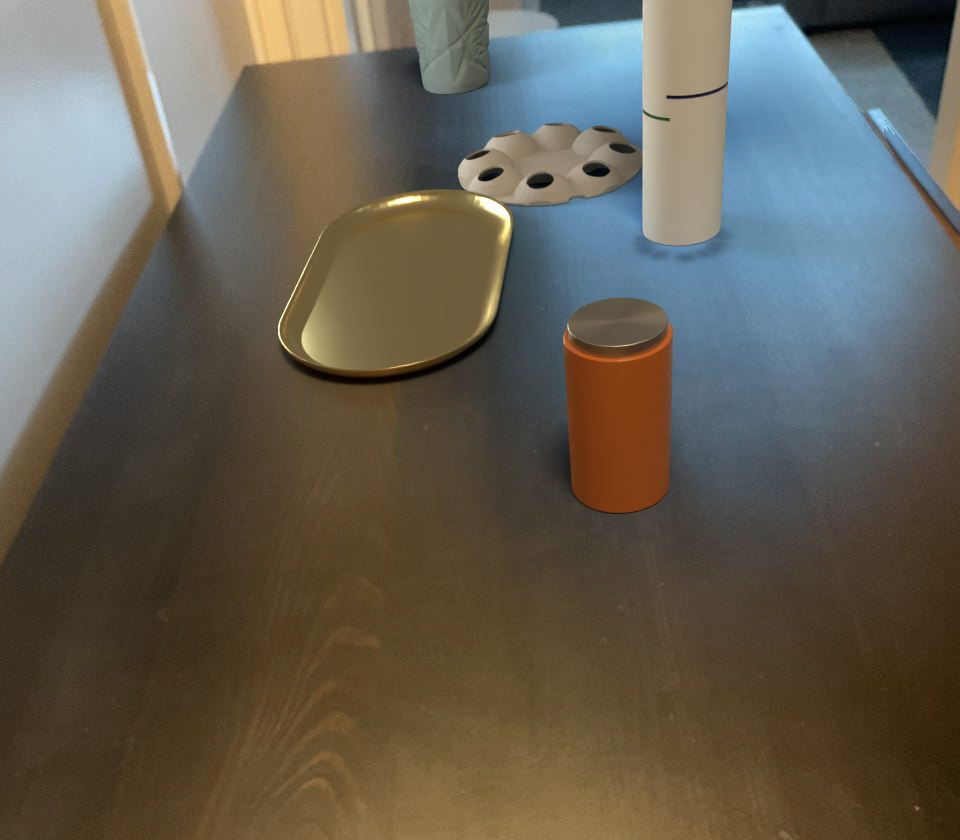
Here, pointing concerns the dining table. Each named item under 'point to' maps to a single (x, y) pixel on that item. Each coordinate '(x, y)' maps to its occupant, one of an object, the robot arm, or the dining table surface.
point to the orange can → (619, 403)
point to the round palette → (551, 164)
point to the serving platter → (400, 284)
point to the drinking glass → (452, 44)
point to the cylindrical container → (684, 118)
